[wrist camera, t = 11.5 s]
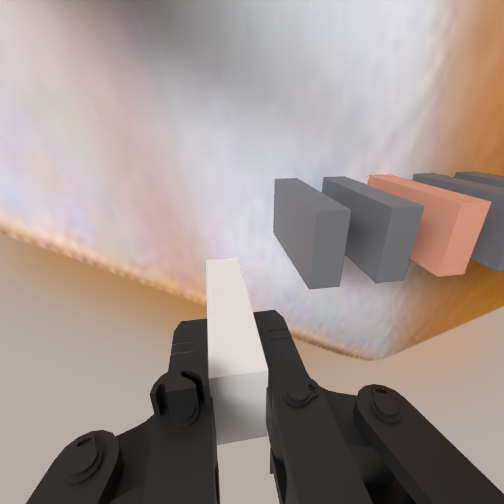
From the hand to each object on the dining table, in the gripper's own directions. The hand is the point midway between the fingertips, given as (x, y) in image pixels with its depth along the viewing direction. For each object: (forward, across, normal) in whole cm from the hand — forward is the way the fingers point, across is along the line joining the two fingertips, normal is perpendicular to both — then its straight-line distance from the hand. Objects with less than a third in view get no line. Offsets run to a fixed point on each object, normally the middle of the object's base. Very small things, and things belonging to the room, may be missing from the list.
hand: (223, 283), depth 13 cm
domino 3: (+12, -15, 0) cm, 20 cm away
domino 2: (+12, -11, 0) cm, 16 cm away
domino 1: (+12, -6, 0) cm, 14 cm away
